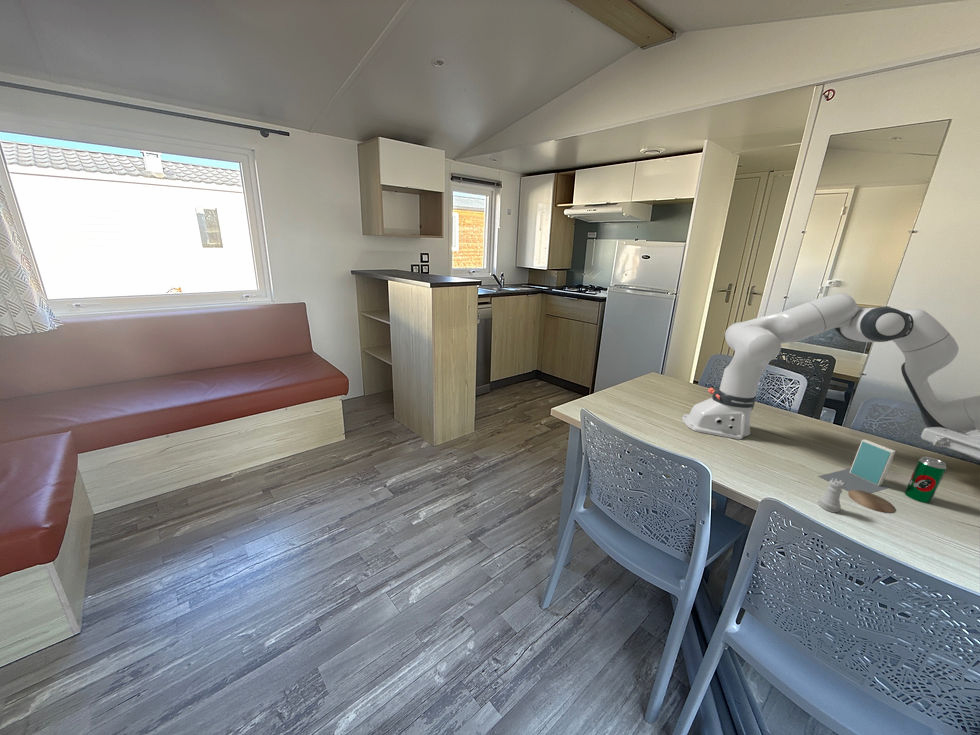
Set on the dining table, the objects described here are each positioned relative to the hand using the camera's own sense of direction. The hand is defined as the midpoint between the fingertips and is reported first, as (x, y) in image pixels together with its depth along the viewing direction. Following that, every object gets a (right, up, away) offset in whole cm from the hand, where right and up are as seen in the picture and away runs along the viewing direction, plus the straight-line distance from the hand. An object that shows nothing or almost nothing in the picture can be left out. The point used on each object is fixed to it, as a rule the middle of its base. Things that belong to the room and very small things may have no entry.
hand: (960, 451), depth 105 cm
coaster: (-28, -13, -3) cm, 31 cm away
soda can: (-12, -13, 0) cm, 18 cm away
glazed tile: (-19, -10, +7) cm, 23 cm away
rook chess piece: (-42, -13, -6) cm, 44 cm away
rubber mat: (-24, -10, +6) cm, 27 cm away
